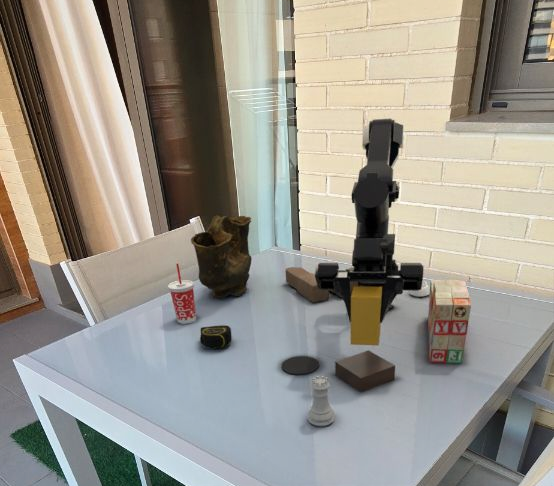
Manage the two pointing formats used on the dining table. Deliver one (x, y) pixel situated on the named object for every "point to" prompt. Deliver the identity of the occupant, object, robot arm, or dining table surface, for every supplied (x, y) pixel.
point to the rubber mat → (300, 365)
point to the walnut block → (364, 370)
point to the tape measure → (215, 336)
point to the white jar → (423, 291)
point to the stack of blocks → (448, 320)
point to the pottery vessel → (224, 255)
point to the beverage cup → (183, 299)
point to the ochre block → (365, 315)
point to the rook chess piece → (320, 403)
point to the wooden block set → (310, 284)
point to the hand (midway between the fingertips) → (365, 321)
